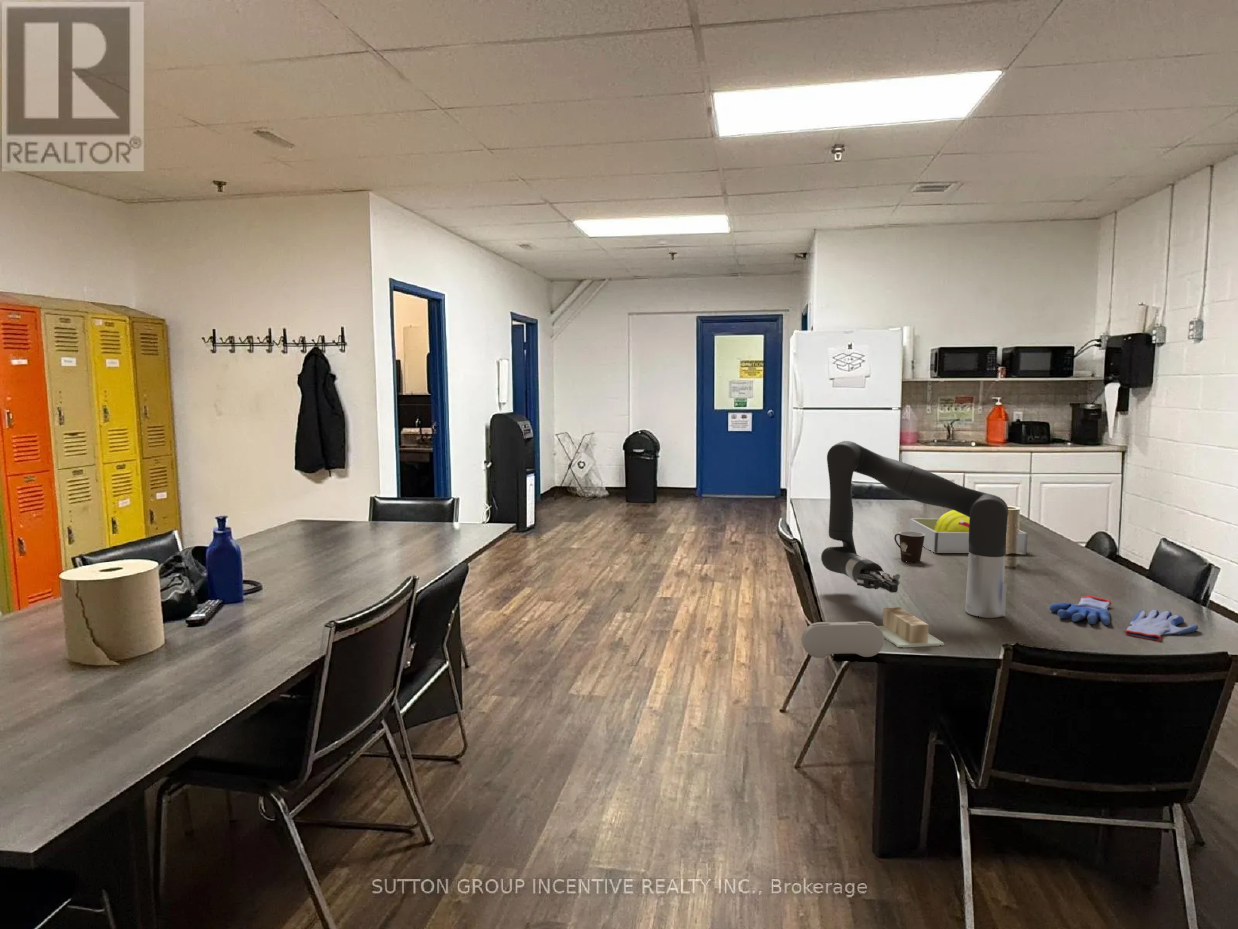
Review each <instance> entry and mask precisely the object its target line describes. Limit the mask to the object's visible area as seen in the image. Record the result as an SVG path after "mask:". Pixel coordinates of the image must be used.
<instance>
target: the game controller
mask: <svg viewBox="0 0 1238 929" xmlns="http://www.w3.org/2000/svg"><path fill="white" fill-rule="evenodd" d="M877 626H878V625H876V624H875V623H874V622H872V621H849V622H847V621H844V622H842V621H841V622H836V621H835V622H828V621H819V622H813V623H811V624H810V625H808V626H807V627H806V628H805V629H804V631H803V632H802V634H801V639H800V640H801V645H802V648H803V649H804V651H805V653H807V654H808V655H809V656H811V657H813V658H816V659H817V658H818V659H820V658H821V659H823V658H826V657H828V656H830V655H834V654H835V655H836V654H837V655H839V654H842V655H843V654H846V655H847V654H856V655H858V656H861V657H864V658H870V657H874V656H876V655H878V654H879V653H880V652H881V651H882V649H883V647H884V645H885V638H884V635H883V632H882V631H881V630H880V629H879V628H878V627H877Z"/></svg>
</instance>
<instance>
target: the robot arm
mask: <svg viewBox="0 0 1238 929" xmlns="http://www.w3.org/2000/svg"><path fill="white" fill-rule="evenodd" d="M826 463H827V470H828V471H827V472H828V477H829V478H828V479H829V481H828V482H829V515H828V518H829V519H828V537H829V538H830V539H832V540H834V541H839V542H842V546H828V547H826V548H824V549H823V551H822V553H821V555H820V560H821V563H822V565H823V566H824V568H826V569H827V570H829V571H831V572H833V573H836V574H841V575H845V576H846V577H848V578H850V579H851V580H852V581H853V582H855V583H856V585H857V586H859V587H863V588H865V589H869V590H878V589H880V590H883V591H884V590H885V591H887V592H889V593H891V594H892V593H895V594H896V593H897V592H898V590H899V585H900V584H901V583H900V582H901V581H900V580H901V575H900V574H898V573H897V574H893V575H892V576H891V575H890V574H889V573H887V572H884V570H883V568H882V567H881V566H880V564H879V563H876V562H874V561H872V560H871V559H868V558H867V557H863V556H861V555H860V554H857V549H856V545H855V540H854V535H853V534H854V533H853V532H854V531H853V530H854V529H853V528H854V506H853V500H852V481H853V475H854V473H857V474H859V475H863V476H867V477H869V478H872V479H874V480H875V481H877V482H879V483H880V484H881V485H883V486H885V487H886V488H888V489H889V490H890V491H892V492H893V493H896V494H898V495H900V496H903V497H904V498H907V499H910V500H913V501H915V502H918V503H922V504H926V505H931V506H935V507H940V508H941V507H942V508H945V509H950V510H951V511H952V510H955V511H957V512H959V513H962V514H964V515H966V516H968V517H970V520H969V554H967V557H968V558H967V574H966V588H965V590H966V594H965V603H964V604H965V605H964V607H965V608H964V612H966V613H967V614H968V615H971V616H973V617H974V616H975V617H978V616H979V618H986V619H987V618H988V619H995V618H1000V617H1005V616H1006V601H1007V589H1008V588H1007V587H1008V586H1007V585H1008V584H1007V582H1006V581H1005V567H1006V555H1007V554H1006V533H1007V525H1008V516H1009V510H1010V509H1009V506H1008V504H1007V503H1006V502H1005V500H1004V499H1003V498H1001V497H1000V496H998V495H995V494H990V493H987V492H982V491H979V490H975V489H974V488H973V489H972V488H968V487H966V486H962V485H960V484H957V483H955V482H954V481H951V480H949V479H947V478H944V477H942V476H940V475H938V474H935V473H933V472H930V471H929V470H926V469H923V468H920V467H918V466H916V465H912V464H909V463H906V462H903V461H899V460H896V459H894V458H889V457H887V456H883V455H881V454H878V453H876V452H875V451H873V450H870V449H868V448H865V447H864V446H862V445H860V444H858V443H856V442H854V441H850V440H842V441H839V442H837V443H835V444H834V445H832V446H831V447H830V448H829V450H828V451H827V453H826Z"/></svg>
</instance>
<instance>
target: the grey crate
mask: <svg viewBox="0 0 1238 929" xmlns="http://www.w3.org/2000/svg"><path fill="white" fill-rule="evenodd" d="M938 519H939V518H916V517H915V518H913V517H912V518H908V528H907V529H908V530H907V531H913V532H920V533H923V534H925V537H924V543H923V546H924V547H925V549H926V548H928V549H929V550H931V551H933V552H934V553H969V532H936V531H934V527H935V524H936V522H937V520H938ZM1018 530H1019V533H1018V551H1019V552H1022V553H1027V550H1028V538H1029V533H1028V532H1025V531H1022V530H1020V529H1018ZM924 547H923V548H924ZM928 549H927V550H928ZM929 550H928V551H929ZM931 551H930V552H931ZM933 552H932V553H933ZM934 553H933V554H934Z"/></svg>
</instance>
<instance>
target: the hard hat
mask: <svg viewBox="0 0 1238 929" xmlns="http://www.w3.org/2000/svg"><path fill="white" fill-rule="evenodd" d="M937 519H938V520H937V522H936V524H935V527H934V531H936V532H969V520H970V517H968V516H966V515H964V514H962V513H959V512H957V511H955V510H952V509H951V510H949V511H947V512H945V513H943V514H942V515H940V517H939V518H937Z"/></svg>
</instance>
